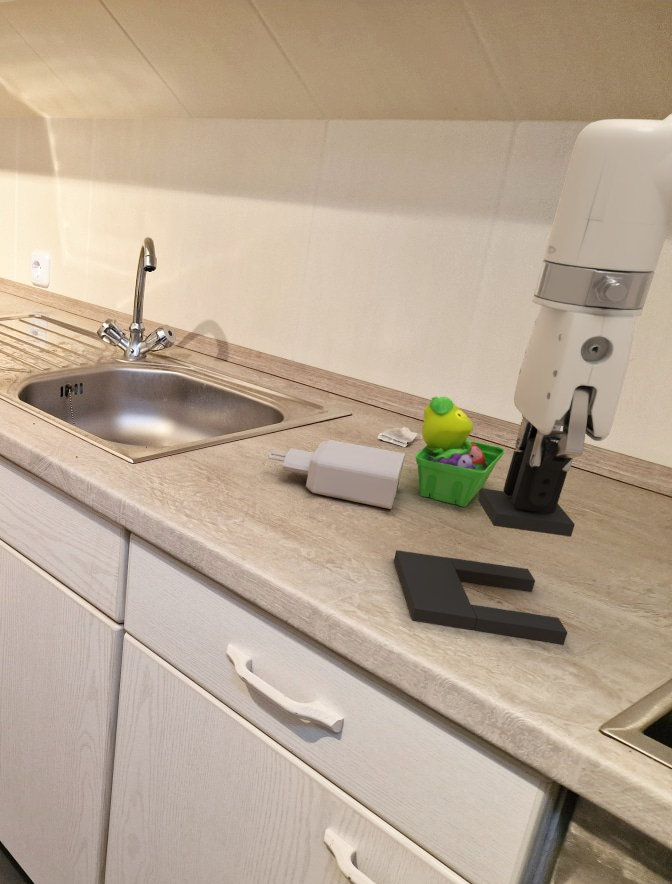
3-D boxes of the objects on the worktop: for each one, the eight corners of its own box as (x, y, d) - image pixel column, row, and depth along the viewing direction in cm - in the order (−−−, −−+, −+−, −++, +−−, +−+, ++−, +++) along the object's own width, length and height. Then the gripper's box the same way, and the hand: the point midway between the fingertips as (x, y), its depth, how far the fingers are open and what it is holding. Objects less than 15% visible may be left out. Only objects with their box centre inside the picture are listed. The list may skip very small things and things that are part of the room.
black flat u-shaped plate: (524, 579, 82) (528, 568, 82) (563, 644, 71) (568, 632, 71) (393, 560, 85) (396, 549, 84) (412, 620, 74) (415, 608, 74)
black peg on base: (549, 509, 77) (572, 436, 74) (571, 537, 71) (596, 458, 69) (477, 500, 78) (497, 427, 75) (493, 526, 72) (515, 448, 70)
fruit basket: (473, 514, 97) (498, 419, 93) (394, 492, 102) (414, 402, 98) (496, 487, 105) (519, 399, 101) (422, 469, 110) (441, 384, 106)
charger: (275, 462, 110) (398, 487, 104) (258, 485, 102) (390, 512, 96) (280, 427, 108) (406, 450, 102) (264, 447, 101) (399, 473, 95)
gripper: (689, 311, 59) (609, 549, 66) (606, 280, 74) (547, 477, 80) (570, 300, 61) (504, 534, 67) (512, 272, 75) (462, 466, 82)
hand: (528, 501), depth 74 cm, fingers closed on black peg on base, 2 cm apart
